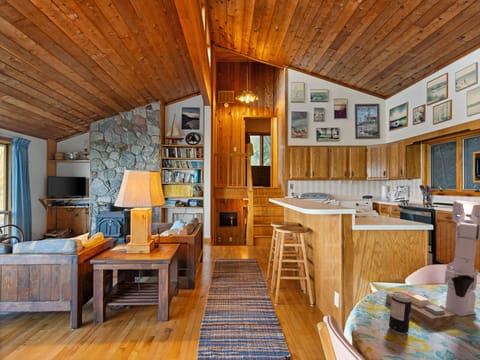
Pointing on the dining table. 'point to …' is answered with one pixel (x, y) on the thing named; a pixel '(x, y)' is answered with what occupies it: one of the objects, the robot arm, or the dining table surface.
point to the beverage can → (400, 312)
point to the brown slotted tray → (428, 315)
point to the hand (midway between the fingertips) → (459, 296)
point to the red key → (407, 293)
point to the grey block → (434, 310)
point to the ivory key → (419, 300)
